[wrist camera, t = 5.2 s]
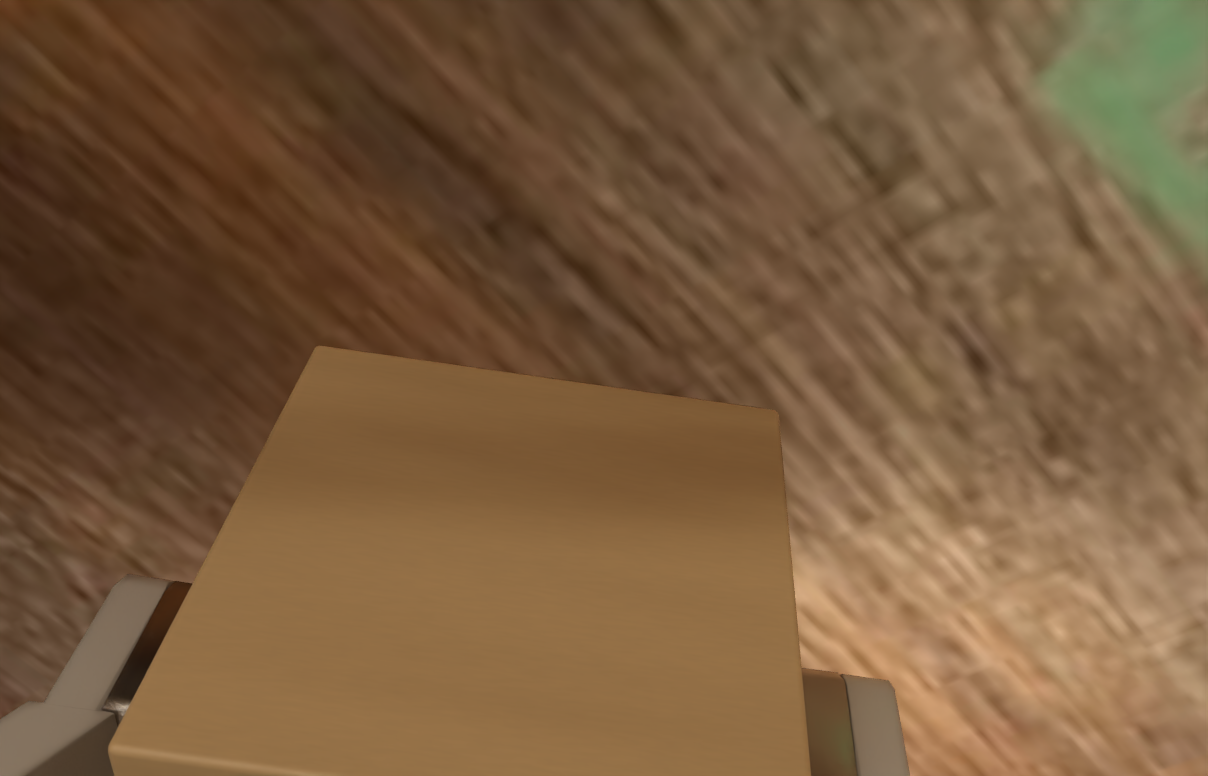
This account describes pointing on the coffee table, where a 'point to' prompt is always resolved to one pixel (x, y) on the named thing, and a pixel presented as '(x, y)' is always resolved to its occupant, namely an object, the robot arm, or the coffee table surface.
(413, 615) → the block
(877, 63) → the coffee table surface
